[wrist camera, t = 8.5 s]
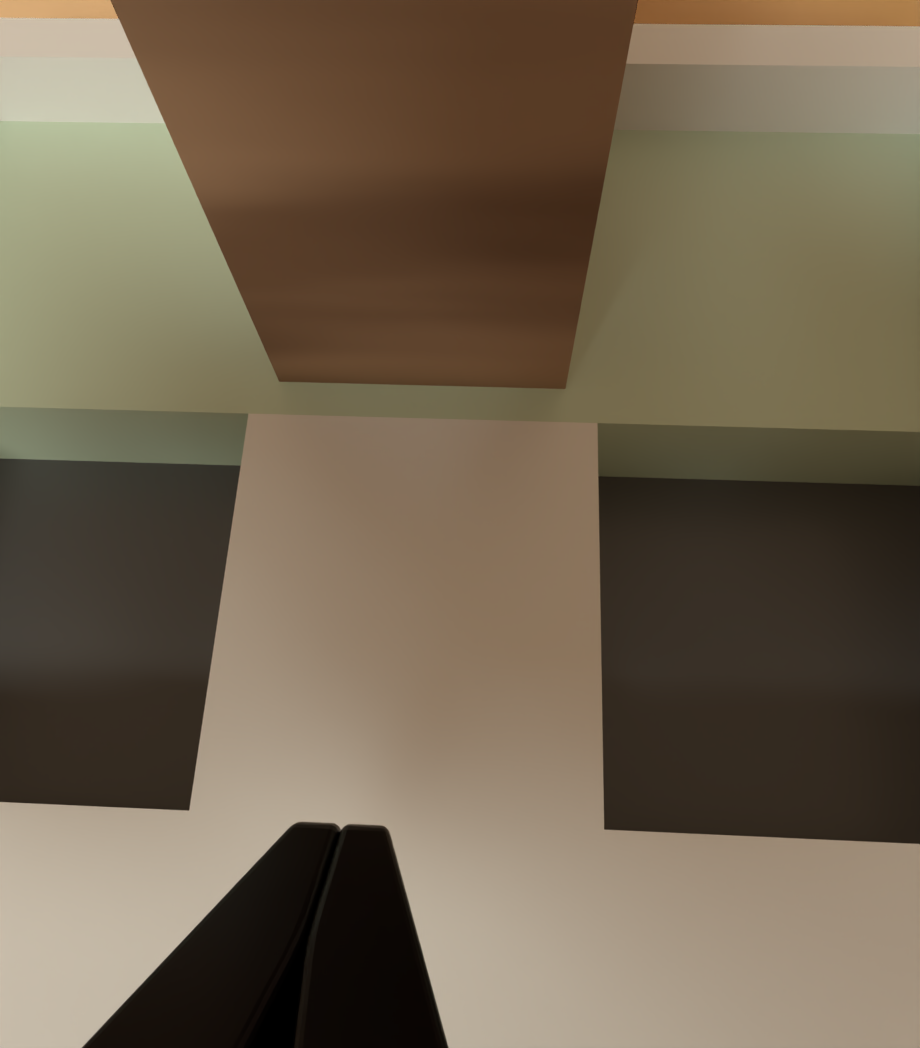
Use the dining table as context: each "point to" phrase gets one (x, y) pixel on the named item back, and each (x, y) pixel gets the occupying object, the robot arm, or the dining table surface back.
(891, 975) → the trap box
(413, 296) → the block
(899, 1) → the dining table surface
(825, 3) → the dining table surface
